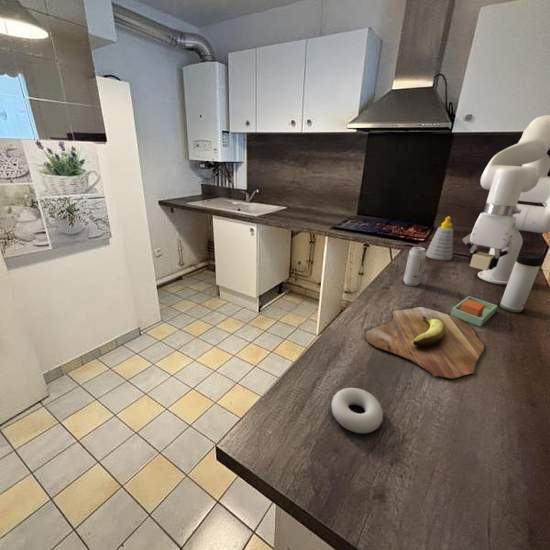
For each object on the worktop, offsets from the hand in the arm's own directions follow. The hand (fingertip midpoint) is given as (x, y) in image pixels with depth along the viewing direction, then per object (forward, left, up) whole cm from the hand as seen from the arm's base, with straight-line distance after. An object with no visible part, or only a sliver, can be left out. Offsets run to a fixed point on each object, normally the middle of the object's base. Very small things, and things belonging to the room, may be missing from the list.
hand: (481, 265), depth 95 cm
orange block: (+7, +3, -15) cm, 17 cm away
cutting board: (+29, -1, -16) cm, 33 cm away
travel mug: (-11, +10, -16) cm, 21 cm away
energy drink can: (-3, -22, -16) cm, 27 cm away
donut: (+69, +3, -16) cm, 71 cm away
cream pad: (0, 0, 0) cm, 0 cm away
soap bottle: (-48, -30, -16) cm, 59 cm away
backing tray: (+4, +3, -15) cm, 16 cm away
